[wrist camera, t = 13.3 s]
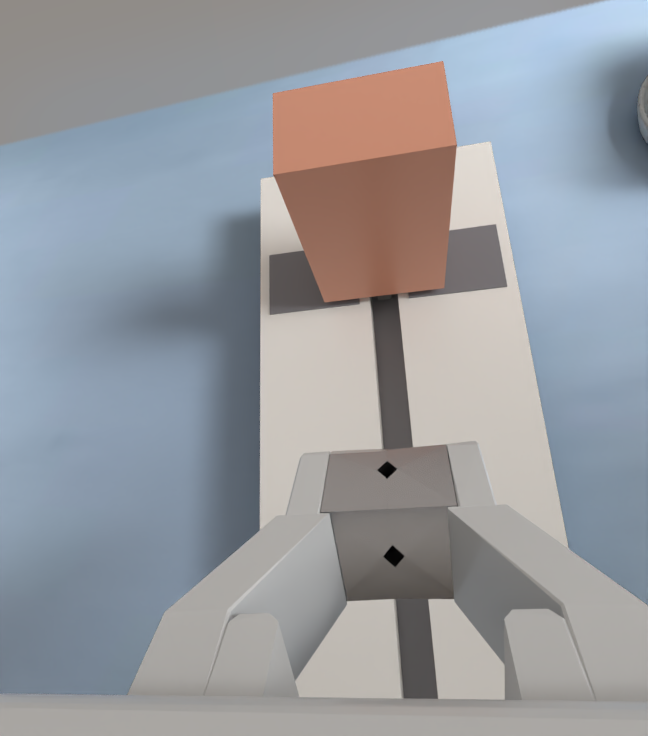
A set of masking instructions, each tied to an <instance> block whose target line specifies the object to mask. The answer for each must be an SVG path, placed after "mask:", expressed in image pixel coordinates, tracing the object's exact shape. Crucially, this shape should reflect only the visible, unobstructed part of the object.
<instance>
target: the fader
mask: <svg viewBox="0 0 648 736" xmlns="http://www.w3.org/2000/svg"><path fill="white" fill-rule="evenodd" d="M456 148H457V143H456V137H455V131H454V124H453V118H452V112H451V106H450V100H449V94H448V88H447V81H446V75H445V69H444V63H443V61H441V62H436V63H431V64H425V65H420V66H415V67H410V68H404V69H399V70H394V71H388V72H383V73H378V74H373V75H367V76H362V77H357V78H351V79H346V80H341V81H336V82H330V83H325V84H320V85H314V86H309V87H304V88H299V89H293V90H288V91H283V92H277V93H273V175H274V177H275V180H276V182H277V185H278V187H279V190H280V192H281V195H282V197H283V200H284V202H285V205H286V207H287V210H288V212H289V215H290V217H291V220H292V222H293V225H294V227H295V230H296V232H297V235H298V237H299V240H300V242H301V245H302V247H303V250H304V252H305V255H306V257H307V260H308V262H309V265H310V267H311V270H312V272H313V275H314V277H315V280H316V282H317V285H318V287H319V290H320V292H321V295H322V297H323V300H324V302H333V301H341V300H349V299H358V298H366V297H374V296H378V301H379V300H388V299H391V294H399V293H408V292H416V291H424V290H433V289H441V288H444V285H445V274H446V262H447V251H448V239H449V228H450V217H451V205H452V194H453V182H454V171H455V160H456Z"/></svg>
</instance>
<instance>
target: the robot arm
mask: <svg viewBox="0 0 648 736" xmlns="http://www.w3.org/2000/svg"><path fill="white" fill-rule="evenodd" d="M399 597H400V598H399ZM384 599H454V602H455V603H456V604H457V606H458V607H459V608H460V609H461V611H462V612H463V613H464V615H465V616H466V617H467V618H468V620H469V621H470V622H471V623H472V625H473V626H474V627H475V628H476V630H477V631H478V632H479V633H480V635H481V636H482V637H483V638H484V640H485V641H486V642H487V643H488V645H489V646H490V647H491V648H492V650H493V651H494V652H495V654H496V655H497V656H498V657H499V659H500V660H501V661H502V662H503V664H504V665H505V700H488V699H410V698H333V697H299V694H298V690H297V687H296V683H295V681H296V679H297V678H298V676H299V675H300V673H301V672H302V670H303V669H304V667H305V666H306V664H307V663H308V661H309V660H310V659H311V657H312V656H313V654H314V653H315V651H316V650H317V648H318V647H319V645H320V644H321V642H322V641H323V639H324V638H325V636H326V635H327V633H328V632H329V631H330V629H331V628H332V626H333V625H334V623H335V622H336V620H337V619H338V617H339V616H340V614H341V613H342V611H343V610H344V608H345V607H346V605H347V601H363V600H384ZM0 736H648V605H647V604H645V603H644V602H643V601H641V600H640V599H638V598H637V597H636V596H634V595H633V594H631V593H630V592H629V591H627V590H626V589H624V588H623V587H622V586H620V585H619V584H617V583H616V582H615V581H613V580H612V579H610V578H609V577H608V576H606V575H605V574H603V573H602V572H601V571H599V570H598V569H596V568H595V567H594V566H592V565H591V564H589V563H588V562H587V561H585V560H584V559H582V558H581V557H580V556H578V555H577V554H575V553H574V552H573V551H571V550H570V549H568V548H567V547H566V546H564V545H563V544H561V543H560V542H559V541H557V540H556V539H554V538H553V537H552V536H550V535H549V534H547V533H546V532H545V531H543V530H542V529H540V528H539V527H538V526H536V525H535V524H533V523H532V522H531V521H529V520H528V519H526V518H525V517H524V516H522V515H521V514H519V513H518V512H517V511H515V510H514V509H512V508H511V507H510V506H508V505H506V504H503V505H497V503H496V500H495V497H494V493H493V490H492V487H491V483H490V480H489V476H488V473H487V470H486V466H485V463H484V460H483V456H482V453H481V450H480V446H479V443H478V442H476V441H468V442H458V443H448V444H444V445H432V446H420V447H408V448H397V449H367V450H346V451H332V452H330V451H326V452H312V453H304V454H303V455H302V456H301V457H300V460H299V464H298V468H297V472H296V476H295V480H294V484H293V488H292V491H291V495H290V499H289V503H288V507H287V511H286V515H278V516H276V517H275V518H274V519H273V520H271V521H270V522H269V523H268V524H267V525H266V526H264V527H263V528H262V529H261V530H260V531H259V532H257V533H256V534H255V535H254V536H253V537H252V538H250V539H249V540H248V541H247V542H246V543H245V544H243V545H242V546H241V547H240V548H239V549H238V550H236V551H235V552H234V553H233V554H232V555H231V556H229V557H228V558H227V559H226V560H225V561H224V562H222V563H221V564H220V565H219V566H218V567H217V568H215V569H214V570H213V571H212V572H211V573H210V574H208V575H207V576H206V577H205V578H204V579H203V580H201V581H200V582H199V583H198V584H197V585H196V586H194V587H193V588H192V589H191V590H190V591H189V592H187V593H186V594H185V595H184V596H183V597H182V598H180V599H179V600H178V601H177V602H176V603H175V604H173V605H172V606H171V607H170V608H169V609H168V610H166V611H165V612H164V614H163V617H162V619H161V621H160V623H159V626H158V628H157V630H156V632H155V634H154V637H153V639H152V641H151V643H150V645H149V648H148V650H147V652H146V654H145V656H144V659H143V661H142V663H141V665H140V667H139V670H138V672H137V674H136V676H135V678H134V681H133V683H132V685H131V687H130V689H129V692H128V694H127V695H96V694H17V693H0Z"/></svg>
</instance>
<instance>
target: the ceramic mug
mask: <svg viewBox="0 0 648 736" xmlns="http://www.w3.org/2000/svg"><path fill="white" fill-rule="evenodd" d="M637 114H638V120H639V129H640V132H641V134H642V136H643V138H644V140H645V141H646V142H647V143H648V76H647V77H646V79H645V80H644V82H643V83H642V86H641V88H640V91H639V95H638V104H637Z"/></svg>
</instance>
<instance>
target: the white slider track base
mask: <svg viewBox="0 0 648 736" xmlns="http://www.w3.org/2000/svg"><path fill="white" fill-rule="evenodd" d="M468 441H476V442H478V443H479V446H480V450H481V453H482V456H483V460H484V463H485V466H486V470H487V473H488V476H489V480H490V483H491V487H492V490H493V493H494V497H495V500H496V503H497V505H503V504H506V505H508V506H510V507H511V508H512V509H514V510H515V511H517V512H518V513H519V514H521V515H522V516H524V517H525V518H526V519H528V520H529V521H531V522H532V523H533V524H535V525H536V526H538V527H539V528H540V529H542V530H543V531H545V532H546V533H547V534H549V535H550V536H552V537H553V538H554V539H556V540H557V541H559V542H560V543H561V544H563V545H564V546H566V547H567V548H568V549H569V547H568V542H567V537H566V532H565V526H564V521H563V516H562V511H561V506H560V500H559V495H558V490H557V485H556V479H555V474H554V469H553V464H552V459H551V453H550V448H549V443H548V438H547V433H546V427H545V422H544V417H543V412H542V406H541V401H540V396H539V391H538V386H537V380H536V375H535V370H534V365H533V360H532V354H531V349H530V344H529V339H528V333H527V328H526V323H525V318H524V313H523V307H522V302H521V297H520V292H519V287H518V281H517V276H516V271H515V266H514V260H513V255H512V250H511V245H510V240H509V234H508V229H507V224H506V219H505V214H504V208H503V203H502V198H501V193H500V187H499V182H498V177H497V172H496V167H495V161H494V156H493V151H492V146H491V142H485V143H479V144H472V145H466V146H460V147H457V148H456V160H455V171H454V182H453V194H452V205H451V217H450V228H449V239H448V251H447V262H446V274H445V285H444V288H441V289H433V290H424V291H416V292H408V293H399V294H391V299H388V300H379V301H378V296H374V297H366V298H358V299H349V300H341V301H333V302H324V300H323V297H322V295H321V292H320V290H319V287H318V285H317V282H316V280H315V277H314V275H313V272H312V270H311V267H310V265H309V262H308V260H307V257H306V255H305V252H304V250H303V247H302V245H301V242H300V240H299V237H298V235H297V232H296V230H295V227H294V225H293V222H292V220H291V217H290V215H289V212H288V210H287V207H286V205H285V202H284V200H283V197H282V195H281V192H280V190H279V187H278V185H277V182H276V180H275V177H269V178H263V179H261V288H260V530H261V529H262V528H263V527H264V526H266V525H267V524H268V523H269V522H270V521H271V520H273V519H274V518H275V517H276V516H278V515H286V511H287V507H288V503H289V499H290V495H291V491H292V488H293V484H294V480H295V476H296V472H297V468H298V464H299V460H300V457H301V456H302V455H303V454H304V453H312V452H326V451H330V452H332V451H346V450H367V449H397V448H408V447H420V446H432V445H444V444H448V443H458V442H468ZM399 598H400V597H399ZM295 683H296V687H297V690H298V694H299V697H333V698H410V699H488V700H505V665H504V664H503V662H502V661H501V660H500V659H499V657H498V656H497V655H496V654H495V652H494V651H493V650H492V648H491V647H490V646H489V645H488V643H487V642H486V641H485V640H484V638H483V637H482V636H481V635H480V633H479V632H478V631H477V630H476V628H475V627H474V626H473V625H472V623H471V622H470V621H469V620H468V618H467V617H466V616H465V615H464V613H463V612H462V611H461V609H460V608H459V607H458V606H457V604H456V603H455V602H454V599H384V600H363V601H347V605H346V607H345V608H344V610H343V611H342V613H341V614H340V616H339V617H338V619H337V620H336V622H335V623H334V625H333V626H332V628H331V629H330V631H329V632H328V633H327V635H326V636H325V638H324V639H323V641H322V642H321V644H320V645H319V647H318V648H317V650H316V651H315V653H314V654H313V656H312V657H311V659H310V660H309V661H308V663H307V664H306V666H305V667H304V669H303V670H302V672H301V673H300V675H299V676H298V678H297V679H296V681H295Z"/></svg>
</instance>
